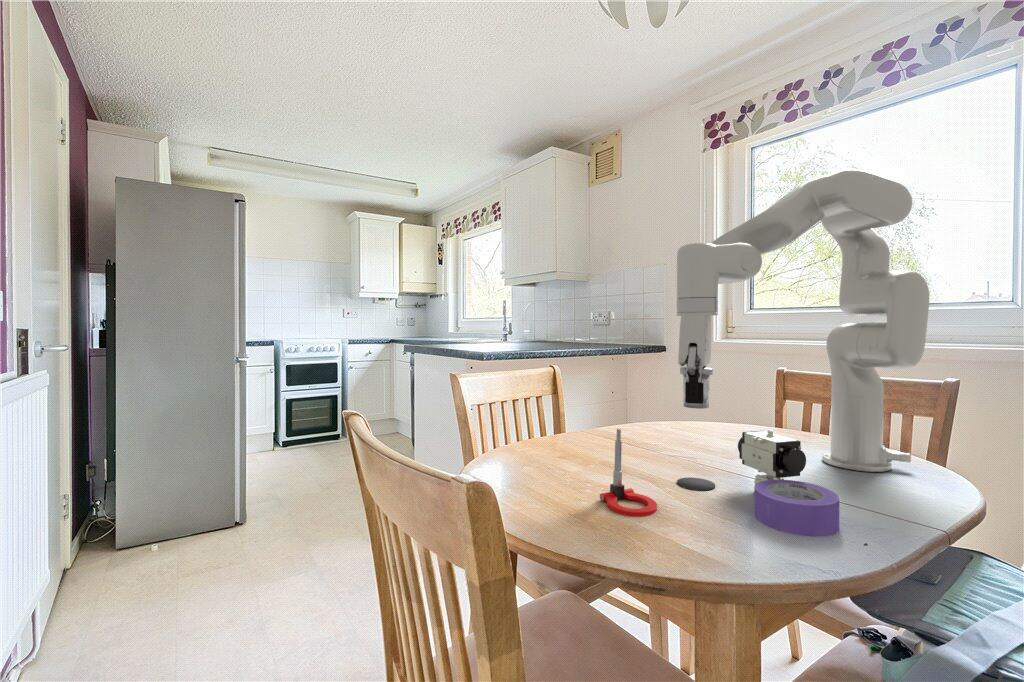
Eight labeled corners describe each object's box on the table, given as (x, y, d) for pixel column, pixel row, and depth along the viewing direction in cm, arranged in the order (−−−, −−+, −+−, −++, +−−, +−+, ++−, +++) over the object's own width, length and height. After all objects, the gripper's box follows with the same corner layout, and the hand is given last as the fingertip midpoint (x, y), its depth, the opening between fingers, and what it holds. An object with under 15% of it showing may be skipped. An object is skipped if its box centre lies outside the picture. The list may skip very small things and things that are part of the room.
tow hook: (667, 514, 81) (633, 494, 90) (670, 439, 80) (635, 426, 89) (626, 522, 78) (594, 501, 86) (628, 444, 77) (596, 430, 85)
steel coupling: (714, 405, 95) (714, 367, 95) (710, 410, 90) (710, 369, 90) (682, 403, 98) (682, 366, 98) (677, 407, 93) (677, 368, 93)
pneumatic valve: (756, 483, 95) (757, 423, 95) (806, 505, 84) (807, 436, 83) (732, 486, 94) (733, 425, 93) (780, 508, 82) (781, 438, 82)
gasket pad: (717, 482, 96) (717, 480, 96) (713, 492, 90) (713, 491, 90) (680, 477, 99) (680, 475, 99) (674, 487, 93) (674, 485, 93)
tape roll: (796, 542, 70) (797, 508, 70) (737, 512, 81) (738, 483, 81) (858, 532, 73) (858, 499, 73) (793, 504, 84) (793, 476, 84)
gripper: (684, 309, 103) (683, 394, 103) (668, 307, 88) (668, 406, 88) (722, 309, 99) (721, 396, 100) (712, 306, 84) (711, 409, 85)
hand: (696, 400), depth 94 cm, fingers closed on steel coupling, 4 cm apart
